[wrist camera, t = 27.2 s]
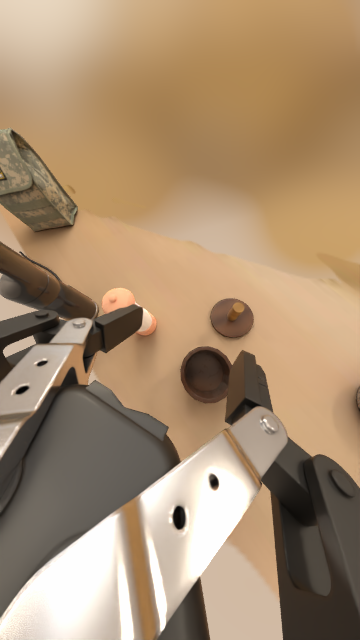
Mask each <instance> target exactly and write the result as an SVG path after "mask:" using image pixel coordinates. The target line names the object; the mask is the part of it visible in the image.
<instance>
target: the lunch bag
mask: <svg viewBox="0 0 360 640" xmlns="http://www.w3.org/2000/svg"><path fill="white" fill-rule="evenodd" d="M0 204H1V205H3V206H4V207H5V208H6V209H7V210H8V211H10V212H11V213H12V214H13V215H15V216H16V217H17V218H19V219H20V220H21V221H22V222H24V223H25V224H26V225H28V226H29V227H30V228H31V229H32V230H33V231H35V232H36V231H40V230H44V229H50V228H56V227H62V226H67V225H73V224H74V223H73V222H74V214H75V213H76V211H77V210H78V207H77V205H76V204H75V203H74V202H73V200H72V199H71V198H70V197H69V195H68V194H67V193H66V192H65V190H64V189H63V188H62V186H61V185H60V184H59V183H58V181H57V180H56V178H55V177H54V175H53V174H52V173H51V172H50V170H49V169H48V167H47V166H46V164H45V163H44V162H43V160H42V159H41V158H40V156H39V155H38V154H37V153H36V152H35V151H34V149H33V148H32V147H31V146H30V145H29V144H28V143H27V142H26V141H25V140H24V138H23V137H21V136H20V135H19V134H18V133H16V132H15V131H14V130H13V129H11V128H8V129H3V130H0Z"/></svg>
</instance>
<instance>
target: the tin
mask: <svg viewBox="0 0 360 640" xmlns="http://www.w3.org/2000/svg"><path fill="white" fill-rule="evenodd" d="M231 367H232V364H231V363H230V361H229V359H228V358H227V356H226V355H224V354H223V353H222V352H221V351H219V350H218V349H215V348H212V347H208V346H207V347H198V348H196V349H194V350H192V351H190V352H189V353H188V355H187V356H186V357H185V358H184V360H183V363H182V366H181V381H182V383H183V385H184V388H185V390H186V391H187V392H188V393H189V394H190V395H191V396H192V397H193V398H194V399H196V400H198V401H201V402H203V403H216V402H218V401H220V400H222V399H224V398H225V397H226V396H227V394H228V384H229V374H230V370H231Z"/></svg>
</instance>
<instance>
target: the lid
mask: <svg viewBox="0 0 360 640" xmlns="http://www.w3.org/2000/svg"><path fill="white" fill-rule="evenodd" d="M253 320H254V319H253V313H252V311H251V309H250V308H249V306H248V305H247V304H245V303H244V302H242V301H240V300H238V299H232V298H230V299H224V300H221V301H219V302H218V303H217V304H216V305H215V306H214V307H213V309H212V312H211V322H212V324H213V326H214V328H215V329H216V330H217V331H218V332H219V333H221V334H222V335H225V336H228V337H239V336H242V335H244V334H246V333H247V332H248V331H249V330H250V329H251V327H252V325H253Z"/></svg>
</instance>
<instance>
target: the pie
mask: <svg viewBox="0 0 360 640" xmlns="http://www.w3.org/2000/svg"><path fill="white" fill-rule="evenodd" d="M357 404H358V407H359V409H360V388H359V389H358V392H357Z"/></svg>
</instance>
